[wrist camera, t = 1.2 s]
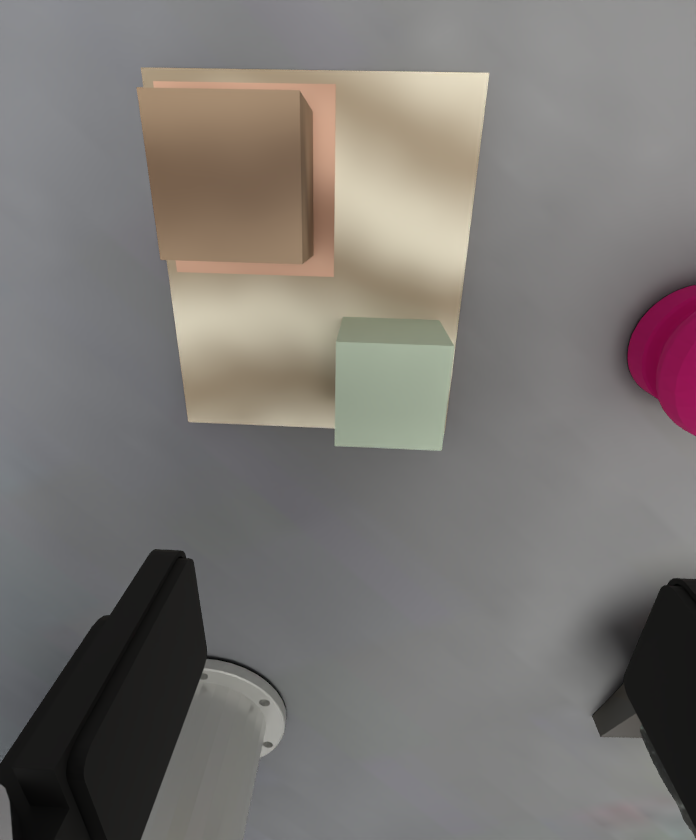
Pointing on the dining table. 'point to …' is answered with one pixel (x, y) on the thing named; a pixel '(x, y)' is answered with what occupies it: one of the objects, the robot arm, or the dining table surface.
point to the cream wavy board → (335, 241)
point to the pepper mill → (668, 355)
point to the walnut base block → (230, 173)
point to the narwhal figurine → (633, 736)
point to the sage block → (392, 383)
